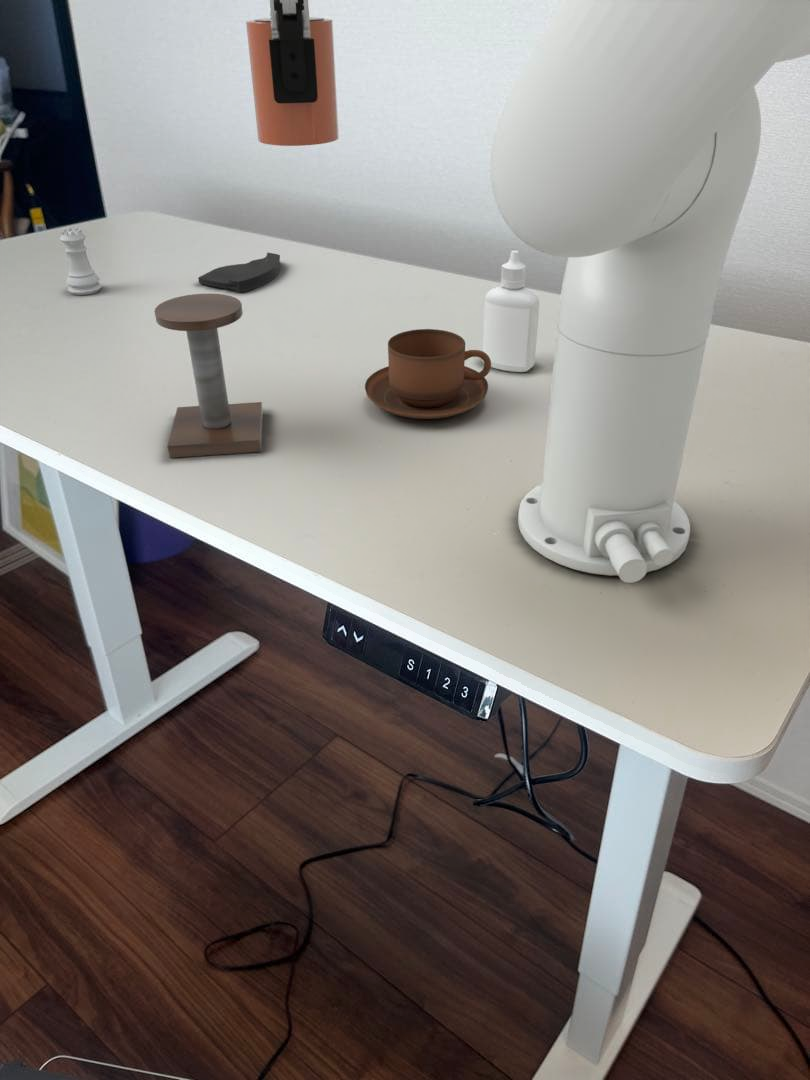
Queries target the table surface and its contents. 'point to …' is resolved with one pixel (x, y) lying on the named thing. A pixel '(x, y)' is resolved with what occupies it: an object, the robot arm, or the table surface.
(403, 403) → the cup and saucer
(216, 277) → the fan shaped piece
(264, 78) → the terracotta cup
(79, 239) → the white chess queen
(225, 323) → the cat scratching post
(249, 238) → the table surface
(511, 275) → the eye dropper bottle
